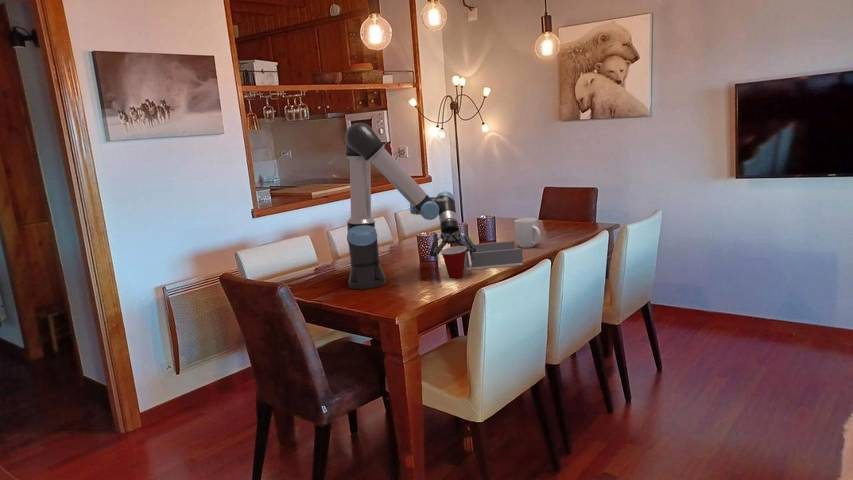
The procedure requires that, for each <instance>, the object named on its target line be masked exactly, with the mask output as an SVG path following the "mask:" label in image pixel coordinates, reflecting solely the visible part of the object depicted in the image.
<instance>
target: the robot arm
mask: <svg viewBox="0 0 853 480" xmlns="http://www.w3.org/2000/svg"><path fill="white" fill-rule="evenodd" d="M344 142H345V157H346V158H347V159H348V160H349V182H350V183H349V188H350V193H349V194H350V196H349V197H350V198H349V199H350V218H349V219H348V220H346V221H347V228H346V229H347V234H346V241H347V244H348V245H347V246H348V250H349V258H350V270H349V271H350V272H349V277H348V280H347V281H348V287H349V288H350V289H352V290H353V289H354V290H369V289H374V288H379V287H381V286H384V285H385V284H386V283H387V280H386V275H385V272H384V270H383V268H382V266H381V263H380V255H379V254H380V253H379V245H378V232H377V229H376V221H375V220H374V219H373V217H372V192H371V191H372V188H371V187H372V183H371V178H372V176H371V175H372V174H371V173H372V172H371V171H372V169H371V168H372V167H371V164H372V166H374V167H375V168H376V169H377V170H378V171H379V172H380V173H381V174H382V175H383V177H385V178H386V180H387V181H388V182H389V183H390V184H391V185H392V186H393V187H394V188H395V189H396V190H397V191H398V192H399V193H400V194H401V195H402V196H403V197H404V199H406V201H407V202H408V203H409V211H410V214H411V215H416V216H417V215H420V216H421V217H422V218H423V219H424V220H428V221H430V220H431V221H432V220H435V219H436V218H437V217H438V219H439V225H440V234H437V233H434V235H433V238H434V239H433V242H432V244H431V247H430V250H429V257H434V263H435V264H438V265H437V266H438V272H441V271H442V268H441V267H442V266H441V257H440V254H441V252H440V251H441V250H443V249H444V247H446V245H452V244H453V245H455V244H457V245H458V246H464V247H466V248H467V249H466V251H467V252H468V253H467V256H468V262H469V268H471V267H472V264H471V260H473V254H472V253H475V252H476V247H475V245H474V242H473V241H472V239H471V238H470V237H469V235H468V231H466V230H465V231H464V232H460V229H459V223H458V216H457V211H456V202H455V201H456V200H455V198H454V195H453V193H452V192H450V191H443V192H439V193H438V194H437V195H436V197H433V196H431V197H430V196H429V195H428V194H427V192H426V191H424V189H423V187H421V186H420V184H419V183H417V182H416V181H415V179H414V178H412V177H411V176H410V174H409V173H408V172H407V171H406V169H404V168H403V166H401V165H400V163H399V162H397V160H396V159H395V158H394V157H393V156H392V155H391V154H390V152H388V150H386V148H385V144H384V142H383V141H382V140H381V139H380V138H379V136H378V135H377V133H376V131H374V129H373V128H372V127H371V126H370V125H368V124H366V123H362V122H360V123H359V122H358V123H353V124H352V125H350V126H349V127H348V128H347V129H346V131H345V135H344ZM461 237H462V238H463V239H464V241H463V240H462V238H461ZM440 239H441V242H440V243H439V245H438V247H437V248H436V246H437V244H438V241H440ZM465 242H466V243H467V244H466V243H465ZM468 245H469V246H468Z"/></svg>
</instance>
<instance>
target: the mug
mask: <svg viewBox="0 0 853 480" xmlns="http://www.w3.org/2000/svg"><path fill="white" fill-rule="evenodd" d="M538 223H539V222H538V219H537V218H532V217H525V218H524V217H523V218H522V217H521V218H516V219H515V220H514V234H515V239H516V242H517V244H518V246H519V247H520V248H522V249H529V248H533V247H535V245H536V244H538V243H540V242H541V240H542V233H541V230H540V228H539V225H538Z"/></svg>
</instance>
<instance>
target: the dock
mask: <svg viewBox="0 0 853 480" xmlns="http://www.w3.org/2000/svg"><path fill="white" fill-rule="evenodd" d="M473 244H474V243H473ZM515 244H516V243H515V240H508V241H498V242H496V241H495V242H485V243H476V244H474V245H475V247H476V252H475V253H472V254H473V260H471V264H472V267H471V268H469V262H468V256H467V253H468V252H467V251H466V253H465V263H464V268H465V269H466V271H472V270H481V269H482V270H483V269H484V268H485V269H494V268H503V267H504V268H505V267H515V266H523V265H524V257H523V255H524V254H523V248H522V247H520V248H516V245H515ZM467 245H468V244H467ZM468 246H469V245H468Z"/></svg>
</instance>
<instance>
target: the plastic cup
mask: <svg viewBox="0 0 853 480" xmlns="http://www.w3.org/2000/svg"><path fill="white" fill-rule="evenodd" d="M466 249H467V248H466V247H464V246H460V245H458V246H457V245H455V246H449V247H446V248H443V249H442V250H441V251H440V255H442V258H443V261H444V265H445V268H446V272H447V276H448V278H449V279H451V280H458V279H462V278H463V277H464V272H465V271H464V270H465V265H464V263H465V253H466Z"/></svg>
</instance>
